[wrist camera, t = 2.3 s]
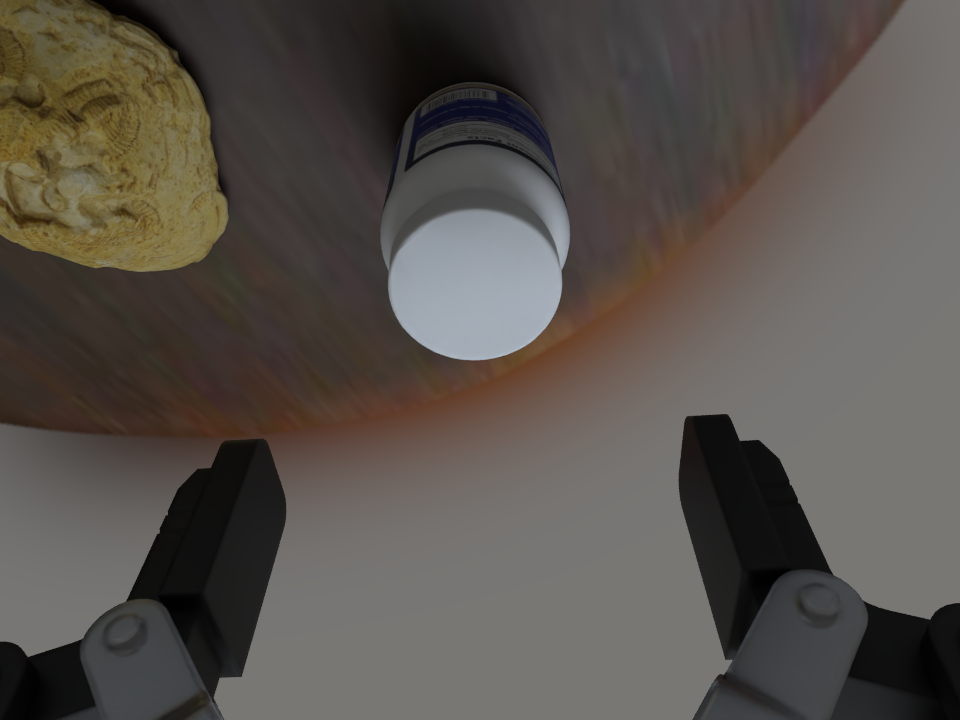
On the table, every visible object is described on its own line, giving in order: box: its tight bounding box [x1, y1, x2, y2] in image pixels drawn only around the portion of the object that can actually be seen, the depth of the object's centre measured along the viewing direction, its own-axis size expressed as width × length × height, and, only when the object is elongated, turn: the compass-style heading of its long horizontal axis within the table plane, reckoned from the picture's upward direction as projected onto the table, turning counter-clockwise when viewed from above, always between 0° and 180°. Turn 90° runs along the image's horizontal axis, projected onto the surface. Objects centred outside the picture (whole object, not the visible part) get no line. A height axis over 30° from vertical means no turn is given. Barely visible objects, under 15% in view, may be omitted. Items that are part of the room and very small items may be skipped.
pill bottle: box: [380, 82, 570, 360], centre depth 24 cm, size 6×6×10 cm
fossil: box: [0, 0, 229, 272], centre depth 26 cm, size 11×6×10 cm
